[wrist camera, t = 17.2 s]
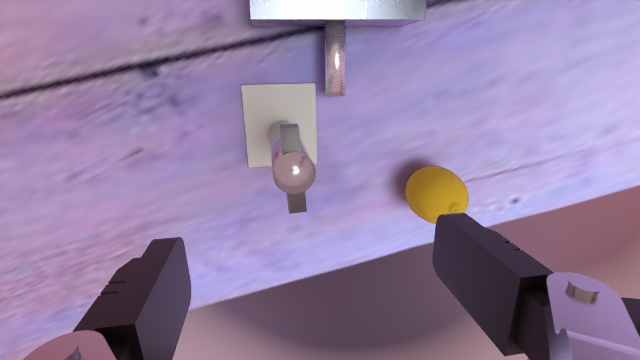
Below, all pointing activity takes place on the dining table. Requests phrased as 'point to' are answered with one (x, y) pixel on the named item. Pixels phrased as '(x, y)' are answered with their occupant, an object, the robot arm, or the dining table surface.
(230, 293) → the dining table surface
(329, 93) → the block
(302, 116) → the mat
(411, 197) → the lemon
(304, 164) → the chuck key
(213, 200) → the dining table surface
